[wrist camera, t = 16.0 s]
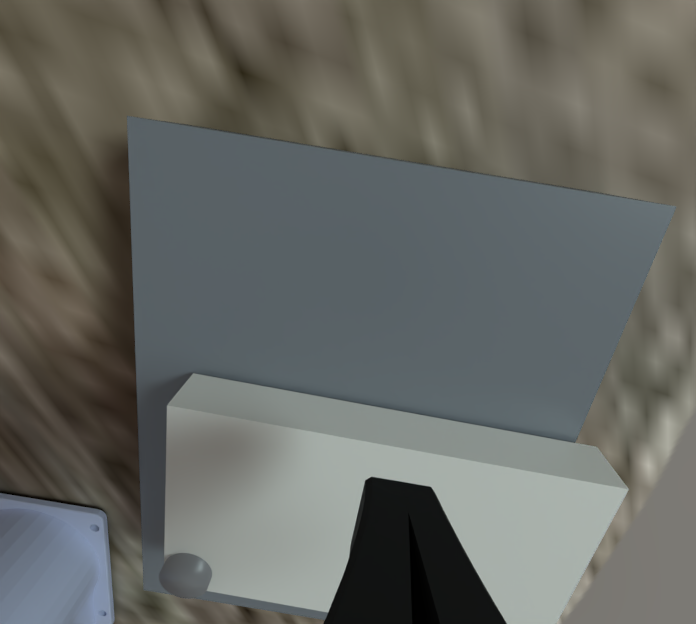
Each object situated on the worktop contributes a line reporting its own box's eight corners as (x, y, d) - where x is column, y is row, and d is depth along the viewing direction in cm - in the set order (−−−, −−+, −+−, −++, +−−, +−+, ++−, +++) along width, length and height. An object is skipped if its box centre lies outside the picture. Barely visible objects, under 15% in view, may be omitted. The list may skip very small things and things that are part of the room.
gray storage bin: (469, 566, 23) (487, 646, 19) (181, 519, 23) (143, 589, 19) (605, 193, 16) (676, 206, 12) (185, 124, 16) (127, 116, 12)
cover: (523, 598, 18) (545, 662, 16) (186, 537, 18) (158, 593, 15) (596, 446, 15) (636, 499, 13) (193, 373, 15) (160, 412, 13)
